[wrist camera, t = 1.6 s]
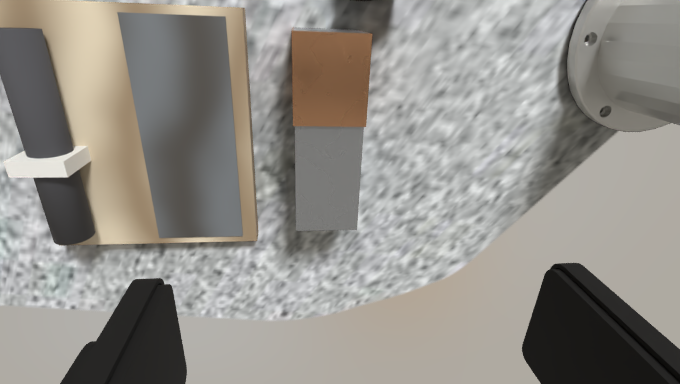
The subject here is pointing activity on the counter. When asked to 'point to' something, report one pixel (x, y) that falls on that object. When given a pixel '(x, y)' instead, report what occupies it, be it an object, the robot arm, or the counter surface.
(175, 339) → the robot arm
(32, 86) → the rod
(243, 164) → the board
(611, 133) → the counter surface
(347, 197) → the grey and copper block
